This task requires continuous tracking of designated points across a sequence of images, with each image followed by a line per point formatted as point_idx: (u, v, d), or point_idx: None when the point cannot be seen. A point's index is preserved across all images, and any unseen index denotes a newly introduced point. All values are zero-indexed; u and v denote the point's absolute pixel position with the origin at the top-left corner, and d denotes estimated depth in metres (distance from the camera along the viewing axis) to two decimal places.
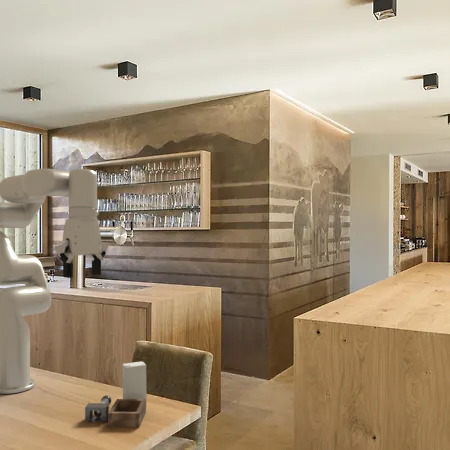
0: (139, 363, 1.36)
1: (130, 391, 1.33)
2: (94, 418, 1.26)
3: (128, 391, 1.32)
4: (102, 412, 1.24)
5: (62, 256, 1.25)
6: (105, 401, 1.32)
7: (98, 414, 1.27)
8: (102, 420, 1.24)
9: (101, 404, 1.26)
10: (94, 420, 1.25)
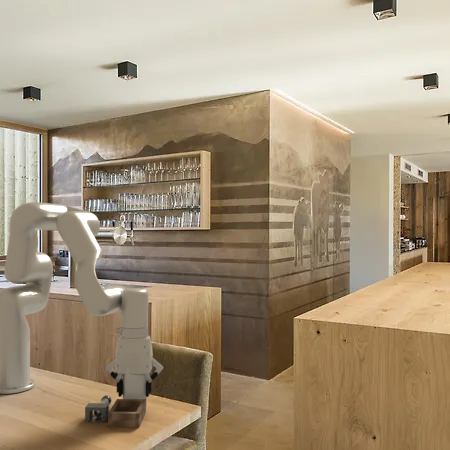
0: None
1: (130, 391, 1.33)
2: (94, 418, 1.26)
3: (128, 391, 1.32)
4: (102, 412, 1.24)
5: None
6: (105, 401, 1.32)
7: (98, 414, 1.27)
8: (102, 420, 1.24)
9: (101, 404, 1.26)
10: (94, 420, 1.25)
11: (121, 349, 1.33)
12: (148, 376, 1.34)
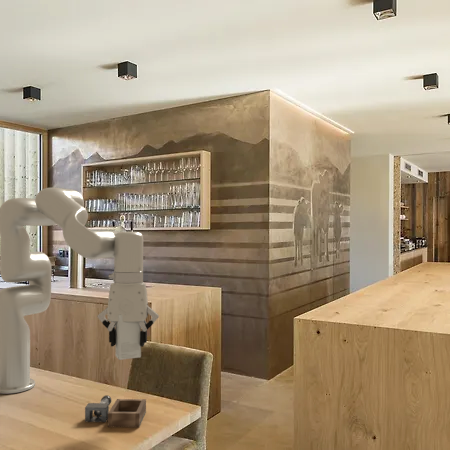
0: None
1: (124, 340, 1.24)
2: (94, 418, 1.26)
3: (121, 340, 1.24)
4: (102, 412, 1.24)
5: None
6: (105, 401, 1.32)
7: (98, 414, 1.27)
8: (102, 420, 1.24)
9: (101, 404, 1.26)
10: (94, 420, 1.25)
11: (113, 295, 1.24)
12: (143, 324, 1.25)
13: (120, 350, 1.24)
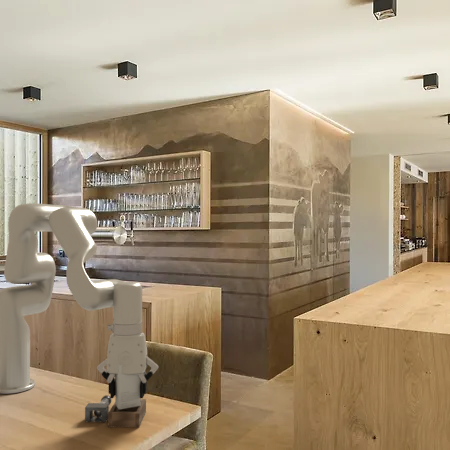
0: None
1: (123, 390, 1.24)
2: (94, 418, 1.26)
3: (120, 390, 1.23)
4: (102, 412, 1.24)
5: None
6: (105, 401, 1.32)
7: (98, 414, 1.27)
8: (102, 420, 1.24)
9: (101, 404, 1.26)
10: (94, 420, 1.25)
11: (112, 347, 1.23)
12: (142, 376, 1.25)
13: (120, 400, 1.23)
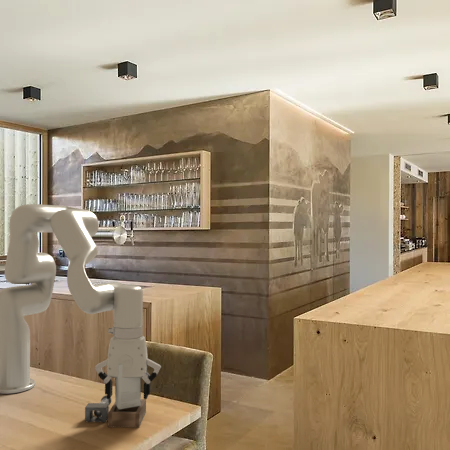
0: None
1: (123, 390, 1.24)
2: (94, 418, 1.26)
3: (121, 389, 1.23)
4: (102, 412, 1.24)
5: None
6: (105, 401, 1.32)
7: (98, 414, 1.27)
8: (102, 420, 1.24)
9: (101, 404, 1.26)
10: (94, 420, 1.25)
11: (113, 350, 1.24)
12: (145, 377, 1.25)
13: (120, 400, 1.23)
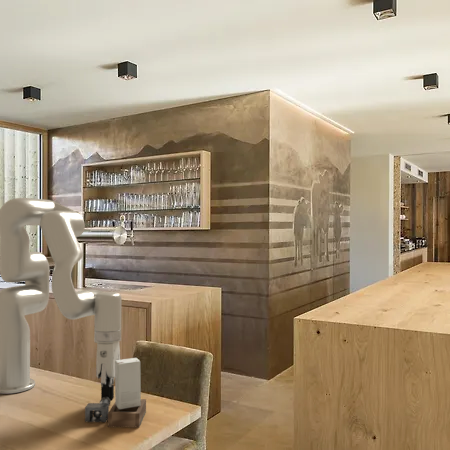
0: (132, 359, 1.27)
1: (123, 390, 1.24)
2: (94, 418, 1.26)
3: (121, 389, 1.23)
4: (102, 412, 1.24)
5: None
6: (104, 402, 1.31)
7: (97, 415, 1.26)
8: (102, 420, 1.24)
9: (101, 404, 1.26)
10: (94, 420, 1.25)
11: (114, 353, 1.33)
12: (113, 378, 1.38)
13: (120, 400, 1.23)
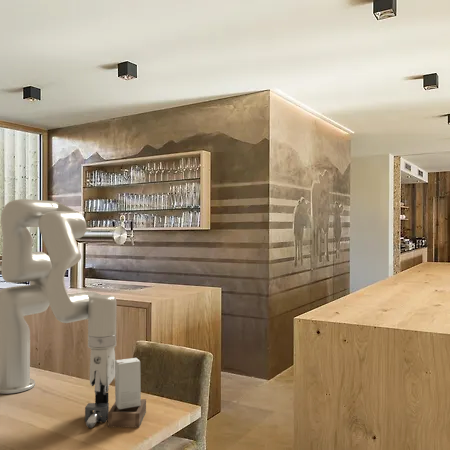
0: (132, 359, 1.27)
1: (123, 390, 1.24)
2: None
3: (121, 389, 1.23)
4: (102, 412, 1.24)
5: None
6: (98, 411, 1.25)
7: (90, 425, 1.20)
8: (102, 420, 1.24)
9: (101, 404, 1.26)
10: None
11: (108, 359, 1.27)
12: (108, 385, 1.32)
13: (120, 400, 1.23)
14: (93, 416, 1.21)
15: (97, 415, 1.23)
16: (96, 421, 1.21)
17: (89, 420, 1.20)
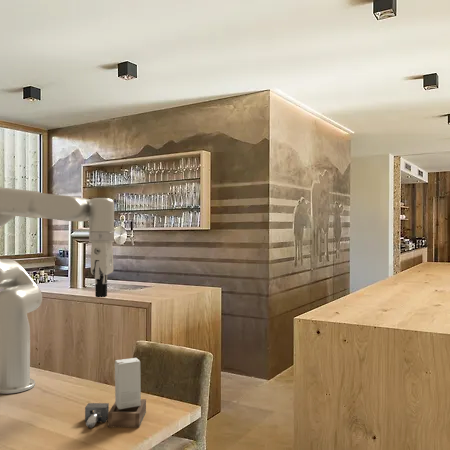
0: (132, 359, 1.27)
1: (123, 390, 1.24)
2: None
3: (121, 389, 1.23)
4: (102, 412, 1.24)
5: None
6: (98, 411, 1.25)
7: (90, 425, 1.20)
8: (102, 420, 1.24)
9: (101, 404, 1.26)
10: None
11: (107, 251, 1.45)
12: (106, 277, 1.50)
13: (120, 400, 1.23)
14: (93, 416, 1.21)
15: (97, 415, 1.23)
16: (96, 421, 1.21)
17: (89, 420, 1.20)
